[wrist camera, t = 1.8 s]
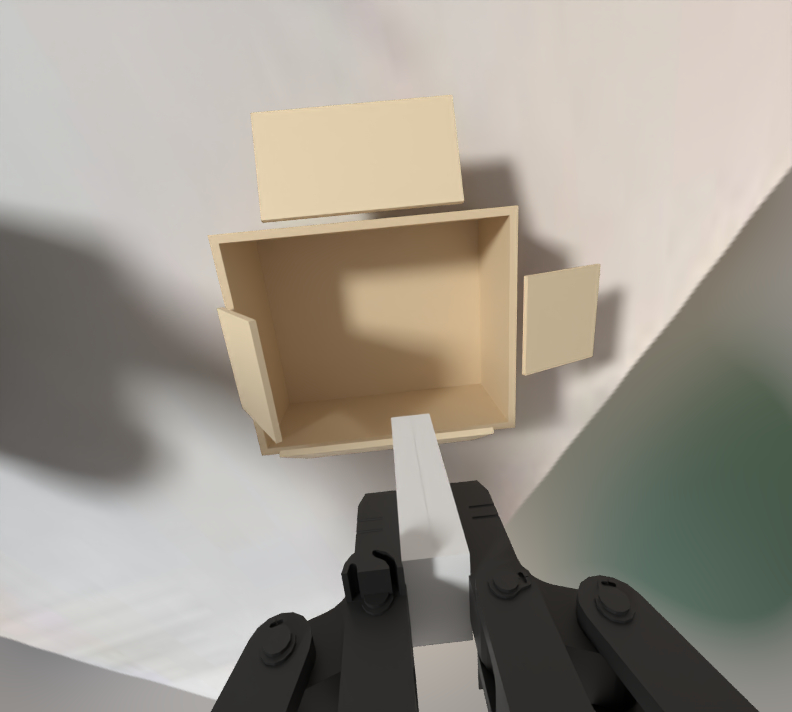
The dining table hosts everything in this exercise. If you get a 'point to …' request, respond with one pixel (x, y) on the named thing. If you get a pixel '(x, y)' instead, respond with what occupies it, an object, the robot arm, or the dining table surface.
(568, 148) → the dining table surface
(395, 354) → the carton
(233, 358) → the flap
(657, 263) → the dining table surface
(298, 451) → the flap
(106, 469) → the dining table surface
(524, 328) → the flap
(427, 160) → the flap
